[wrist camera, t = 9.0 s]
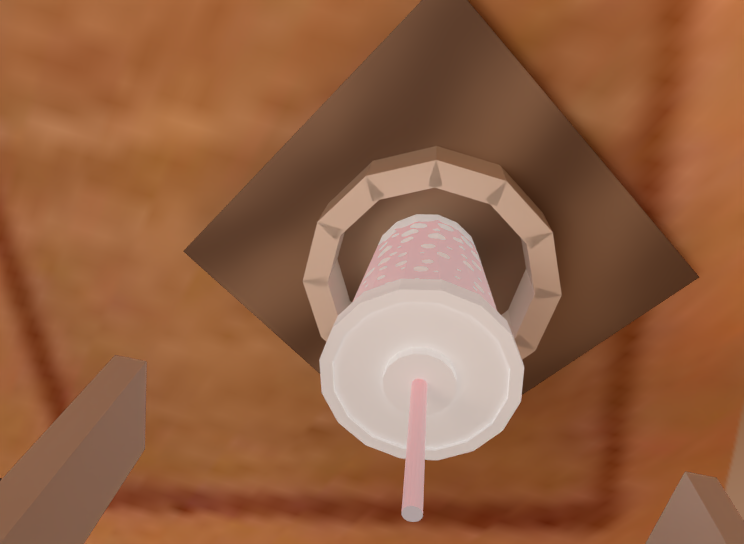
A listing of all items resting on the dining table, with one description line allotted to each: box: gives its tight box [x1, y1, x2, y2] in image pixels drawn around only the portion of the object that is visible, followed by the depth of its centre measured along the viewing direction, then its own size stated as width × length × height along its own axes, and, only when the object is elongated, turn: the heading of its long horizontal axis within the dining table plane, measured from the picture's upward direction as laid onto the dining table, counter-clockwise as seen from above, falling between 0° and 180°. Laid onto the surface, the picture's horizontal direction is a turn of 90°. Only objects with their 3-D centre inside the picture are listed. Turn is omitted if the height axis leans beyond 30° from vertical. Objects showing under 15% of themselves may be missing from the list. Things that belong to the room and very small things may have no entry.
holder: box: [184, 0, 699, 394], centre depth 26 cm, size 16×16×2 cm
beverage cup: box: [319, 214, 524, 522], centre depth 19 cm, size 6×6×14 cm
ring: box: [303, 146, 562, 359], centre depth 24 cm, size 10×10×2 cm
